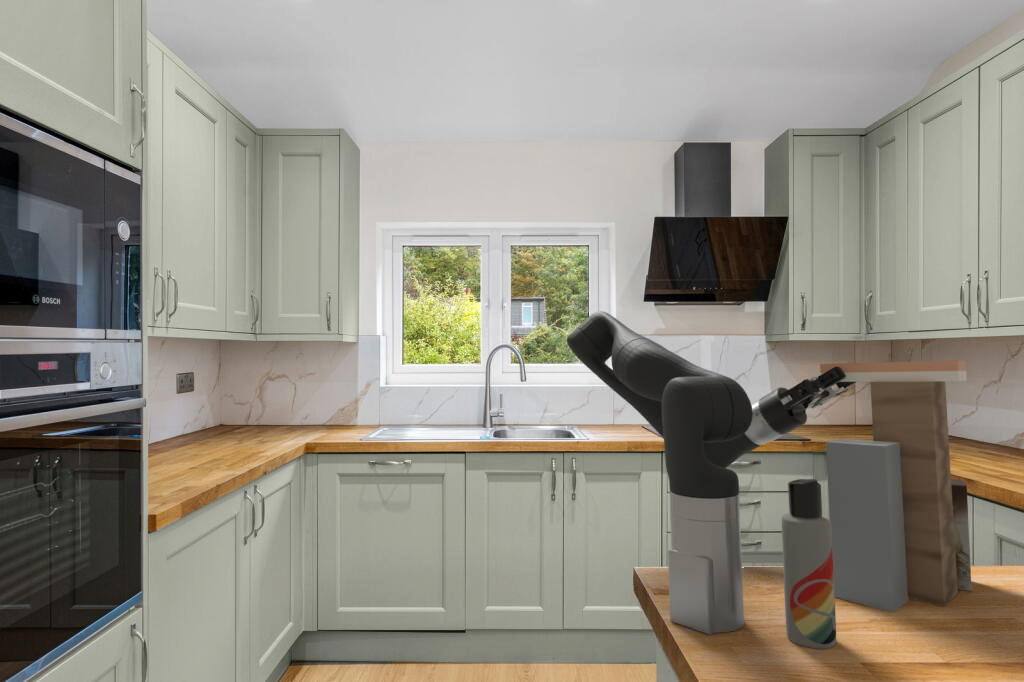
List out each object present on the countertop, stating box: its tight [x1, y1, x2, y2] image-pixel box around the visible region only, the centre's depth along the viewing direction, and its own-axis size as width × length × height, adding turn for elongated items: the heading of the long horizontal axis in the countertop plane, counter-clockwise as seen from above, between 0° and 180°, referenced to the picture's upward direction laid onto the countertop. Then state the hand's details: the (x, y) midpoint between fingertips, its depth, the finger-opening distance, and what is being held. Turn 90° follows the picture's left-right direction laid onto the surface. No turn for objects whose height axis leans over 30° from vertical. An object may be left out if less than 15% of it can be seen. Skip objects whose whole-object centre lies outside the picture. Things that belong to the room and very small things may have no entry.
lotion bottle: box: [781, 478, 837, 650], centre depth 75 cm, size 6×6×20 cm
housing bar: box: [819, 360, 967, 383], centre depth 93 cm, size 4×19×3 cm, turn 40°
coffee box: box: [951, 478, 973, 592], centre depth 95 cm, size 9×6×16 cm
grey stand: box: [825, 438, 909, 613], centre depth 88 cm, size 6×8×23 cm
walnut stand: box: [869, 381, 959, 607], centre depth 90 cm, size 7×8×32 cm
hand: (852, 370), depth 97 cm, fingers open, 8 cm apart
